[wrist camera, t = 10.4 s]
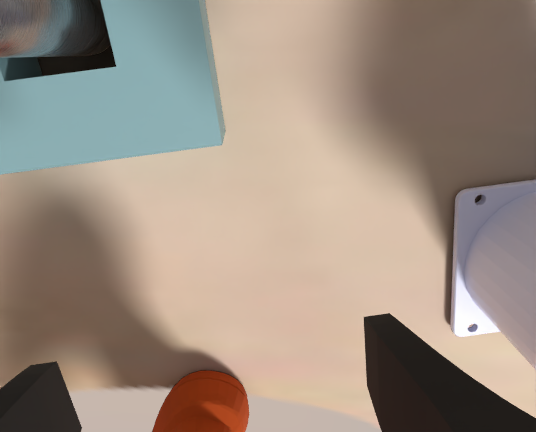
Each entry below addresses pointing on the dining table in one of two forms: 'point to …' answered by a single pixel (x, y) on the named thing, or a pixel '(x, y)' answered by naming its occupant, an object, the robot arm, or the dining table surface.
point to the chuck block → (117, 93)
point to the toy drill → (204, 405)
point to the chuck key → (52, 28)
